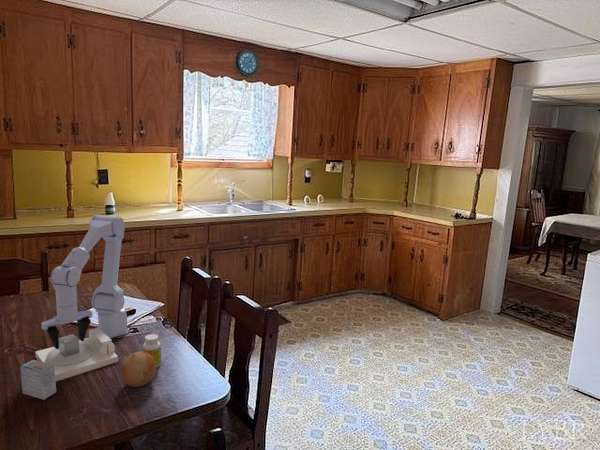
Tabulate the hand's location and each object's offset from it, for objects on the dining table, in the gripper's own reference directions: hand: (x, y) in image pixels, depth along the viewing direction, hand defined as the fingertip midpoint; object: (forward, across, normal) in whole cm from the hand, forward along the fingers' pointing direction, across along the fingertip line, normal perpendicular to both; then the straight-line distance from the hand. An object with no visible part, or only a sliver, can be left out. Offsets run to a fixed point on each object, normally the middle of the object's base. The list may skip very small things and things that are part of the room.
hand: (69, 343), depth 139 cm
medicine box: (+6, +13, +12) cm, 19 cm away
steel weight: (+3, 0, 0) cm, 3 cm away
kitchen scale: (+6, -2, 0) cm, 6 cm away
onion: (+6, -9, +27) cm, 29 cm away
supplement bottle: (+6, -17, +20) cm, 27 cm away
